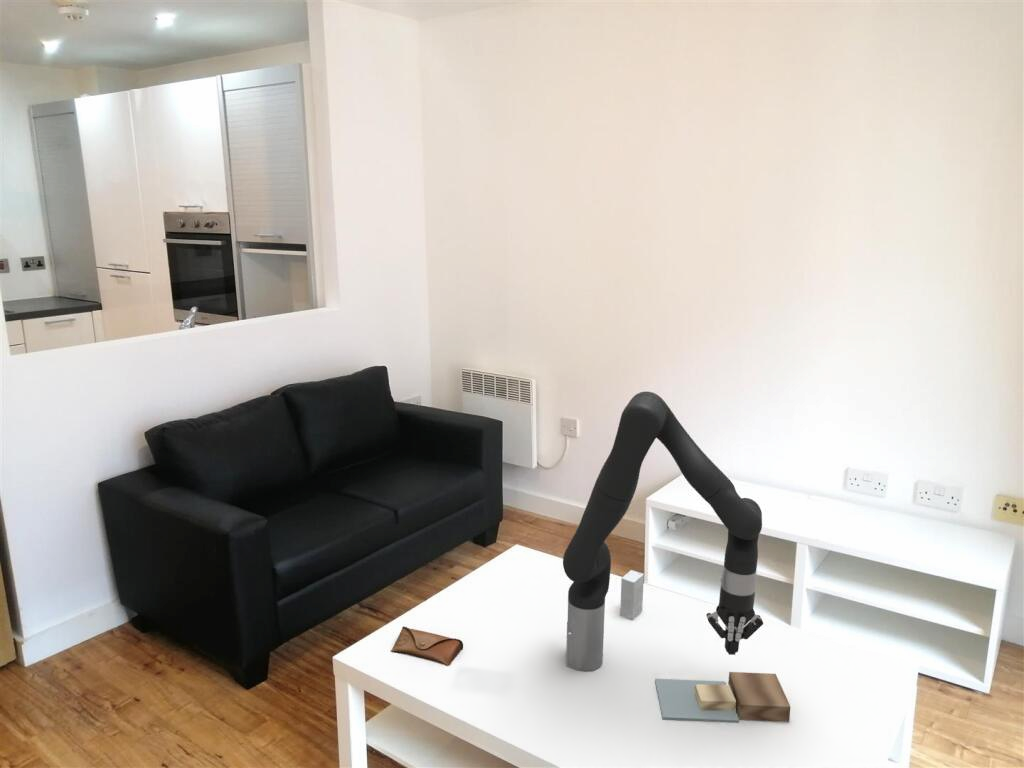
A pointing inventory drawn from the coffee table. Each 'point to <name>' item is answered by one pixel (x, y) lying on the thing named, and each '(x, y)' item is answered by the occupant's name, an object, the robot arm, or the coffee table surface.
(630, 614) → the skincare box
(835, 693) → the coffee table surface
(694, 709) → the grey mat
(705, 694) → the oak tile
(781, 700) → the block
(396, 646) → the sunglasses case
